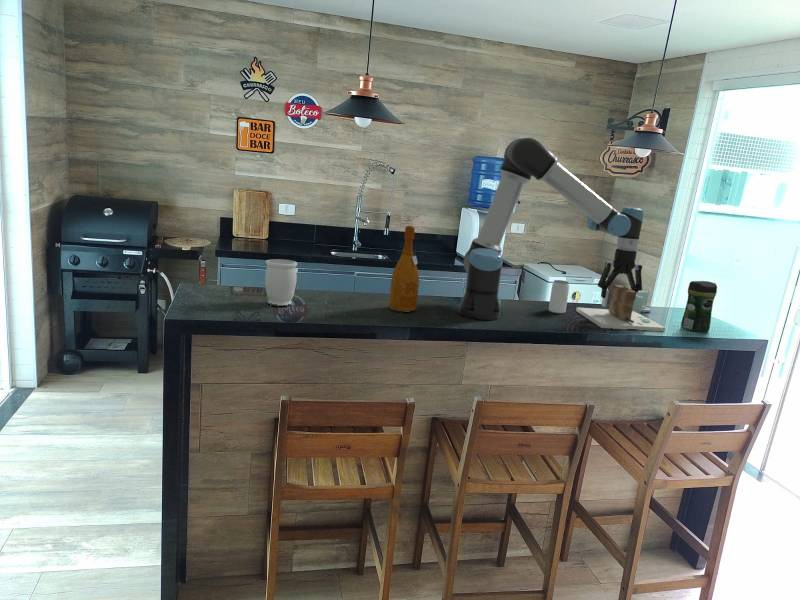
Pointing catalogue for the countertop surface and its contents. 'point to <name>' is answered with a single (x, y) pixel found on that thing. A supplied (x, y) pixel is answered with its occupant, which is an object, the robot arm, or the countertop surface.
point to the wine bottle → (405, 277)
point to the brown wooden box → (622, 302)
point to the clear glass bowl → (641, 302)
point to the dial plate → (618, 320)
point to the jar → (280, 281)
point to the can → (559, 296)
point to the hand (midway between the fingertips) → (616, 307)
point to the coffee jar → (699, 306)
